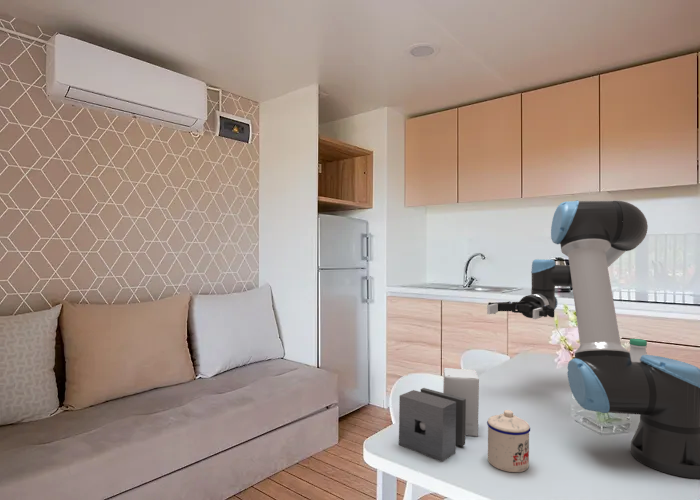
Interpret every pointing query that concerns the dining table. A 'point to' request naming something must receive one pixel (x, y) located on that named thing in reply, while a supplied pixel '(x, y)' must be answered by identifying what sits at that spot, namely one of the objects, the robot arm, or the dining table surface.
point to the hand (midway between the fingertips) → (510, 312)
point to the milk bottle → (637, 349)
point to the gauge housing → (427, 424)
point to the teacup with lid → (508, 442)
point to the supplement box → (464, 394)
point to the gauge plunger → (459, 414)
